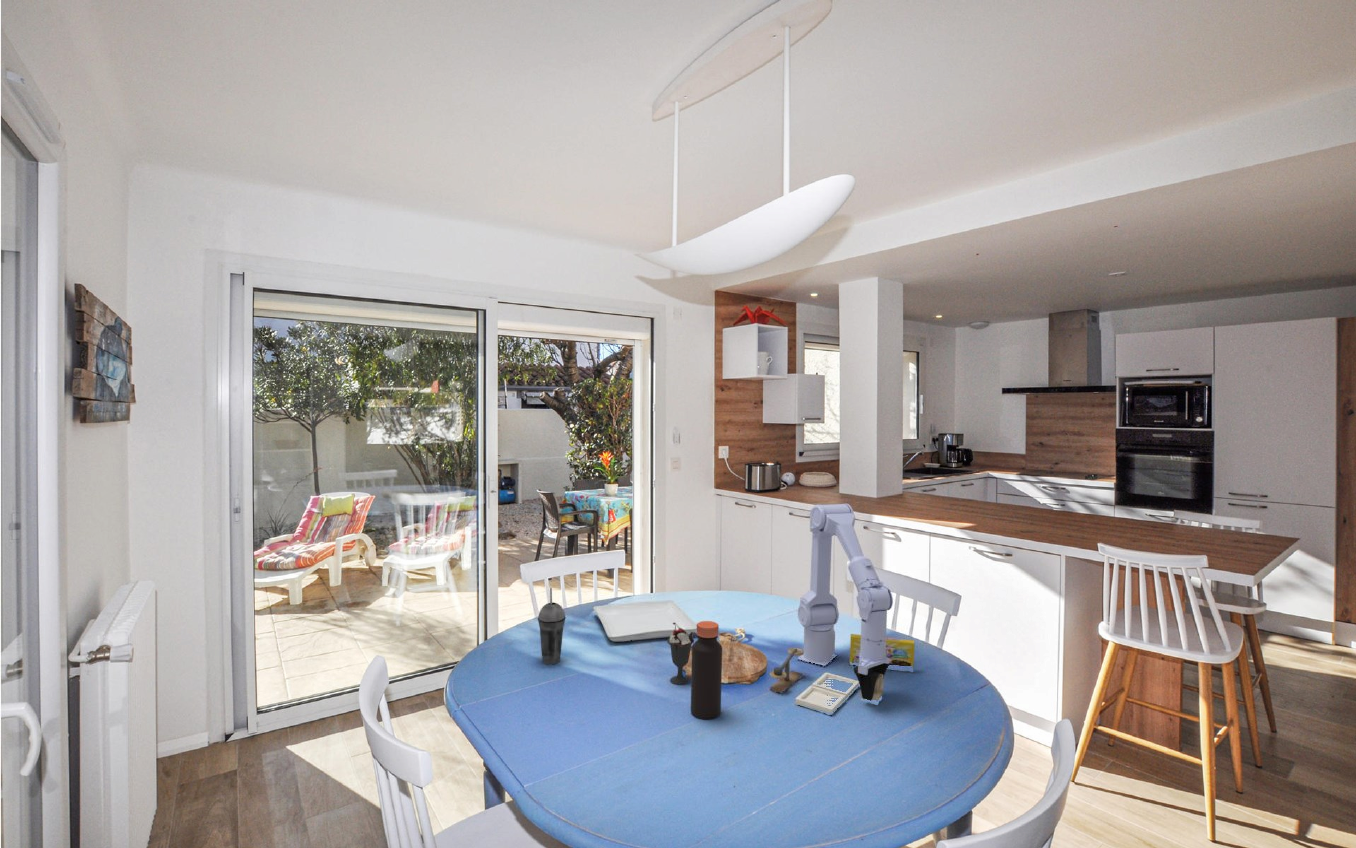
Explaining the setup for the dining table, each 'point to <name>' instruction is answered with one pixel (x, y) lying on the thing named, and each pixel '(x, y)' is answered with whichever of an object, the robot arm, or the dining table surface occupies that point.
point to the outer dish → (819, 699)
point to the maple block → (877, 688)
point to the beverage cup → (551, 631)
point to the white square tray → (831, 676)
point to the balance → (786, 673)
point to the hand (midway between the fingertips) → (871, 694)
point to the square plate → (643, 620)
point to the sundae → (680, 653)
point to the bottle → (706, 672)
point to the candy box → (887, 650)
